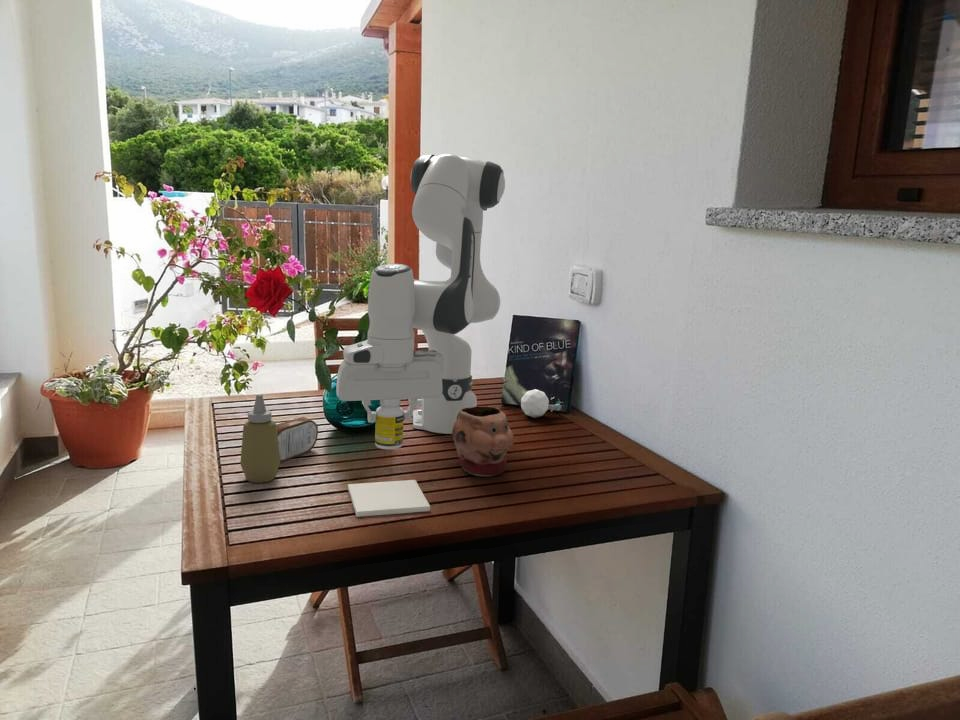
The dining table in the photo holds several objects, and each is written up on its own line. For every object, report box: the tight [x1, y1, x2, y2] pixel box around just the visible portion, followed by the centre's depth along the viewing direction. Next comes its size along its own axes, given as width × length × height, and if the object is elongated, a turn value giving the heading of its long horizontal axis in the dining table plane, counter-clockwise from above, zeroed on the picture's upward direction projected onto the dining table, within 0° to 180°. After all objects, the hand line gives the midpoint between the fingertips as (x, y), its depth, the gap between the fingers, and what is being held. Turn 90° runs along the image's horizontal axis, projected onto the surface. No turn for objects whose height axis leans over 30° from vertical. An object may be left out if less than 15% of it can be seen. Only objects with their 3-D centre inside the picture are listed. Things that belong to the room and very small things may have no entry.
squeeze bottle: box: [239, 394, 281, 484], centre depth 148 cm, size 8×8×18 cm
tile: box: [347, 479, 431, 518], centre depth 142 cm, size 14×14×1 cm
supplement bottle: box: [374, 399, 404, 450], centre depth 139 cm, size 5×5×10 cm
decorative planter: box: [451, 405, 515, 477], centre depth 160 cm, size 20×12×14 cm, turn 37°
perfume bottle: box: [520, 388, 562, 419], centre depth 206 cm, size 8×8×12 cm
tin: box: [276, 416, 319, 463], centre depth 163 cm, size 15×3×8 cm, turn 150°
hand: (389, 420), depth 139 cm, fingers closed on supplement bottle, 5 cm apart
